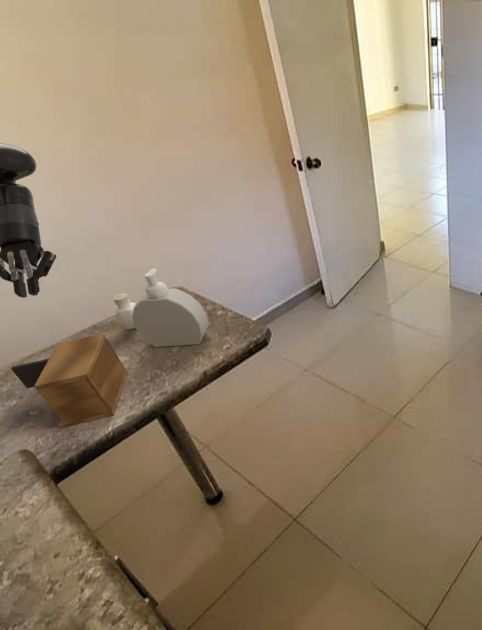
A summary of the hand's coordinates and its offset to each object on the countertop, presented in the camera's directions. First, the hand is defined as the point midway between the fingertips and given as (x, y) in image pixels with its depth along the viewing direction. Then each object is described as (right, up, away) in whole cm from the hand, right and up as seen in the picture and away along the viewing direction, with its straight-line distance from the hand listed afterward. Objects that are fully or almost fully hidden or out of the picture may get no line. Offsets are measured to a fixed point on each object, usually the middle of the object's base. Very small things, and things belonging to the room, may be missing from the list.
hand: (28, 295), depth 102 cm
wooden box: (+20, -23, -5) cm, 31 cm away
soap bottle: (+30, -11, +11) cm, 34 cm away
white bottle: (+14, -8, +18) cm, 24 cm away
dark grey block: (+10, -22, -5) cm, 25 cm away
